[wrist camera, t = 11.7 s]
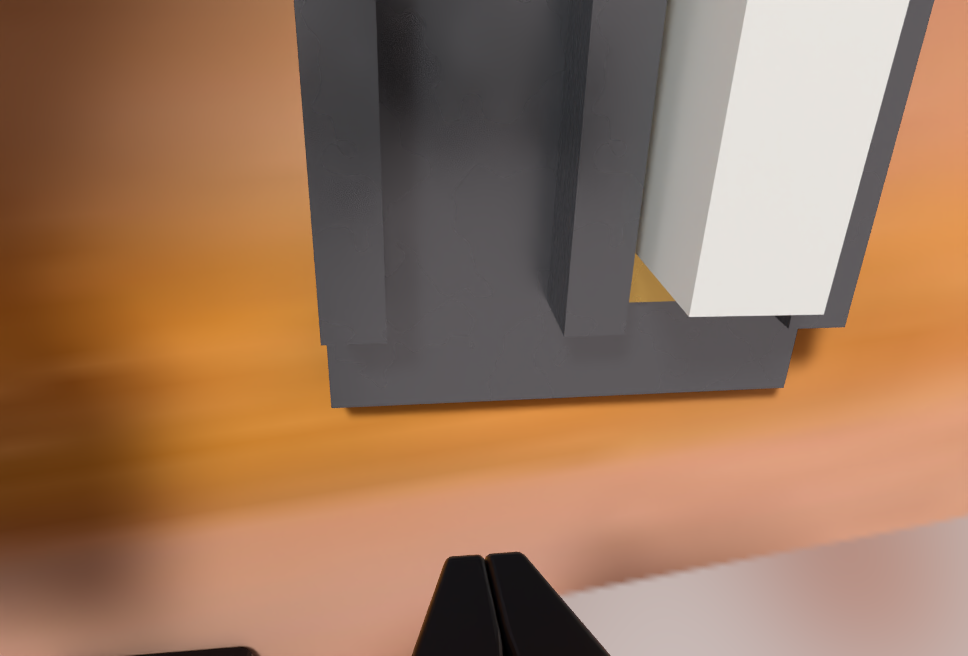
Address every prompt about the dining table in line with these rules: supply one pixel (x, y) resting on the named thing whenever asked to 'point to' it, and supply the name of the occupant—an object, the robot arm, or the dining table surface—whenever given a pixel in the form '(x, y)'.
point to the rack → (517, 205)
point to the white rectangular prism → (761, 148)
